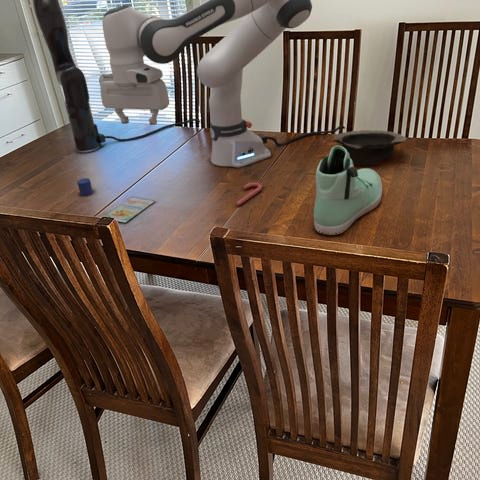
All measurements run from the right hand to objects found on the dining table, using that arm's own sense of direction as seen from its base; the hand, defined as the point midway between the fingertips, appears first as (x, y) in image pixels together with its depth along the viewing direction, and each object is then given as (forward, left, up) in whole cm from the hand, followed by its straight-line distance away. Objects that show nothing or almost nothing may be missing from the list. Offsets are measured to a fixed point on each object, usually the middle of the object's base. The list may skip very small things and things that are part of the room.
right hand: (139, 124), depth 136 cm
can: (+17, -22, -26) cm, 38 cm away
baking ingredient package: (+8, -1, -26) cm, 27 cm away
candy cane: (-28, +10, -26) cm, 39 cm away
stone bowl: (-77, +4, -26) cm, 82 cm away
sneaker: (-49, +33, -26) cm, 65 cm away
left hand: (+43, -76, +6) cm, 87 cm away
